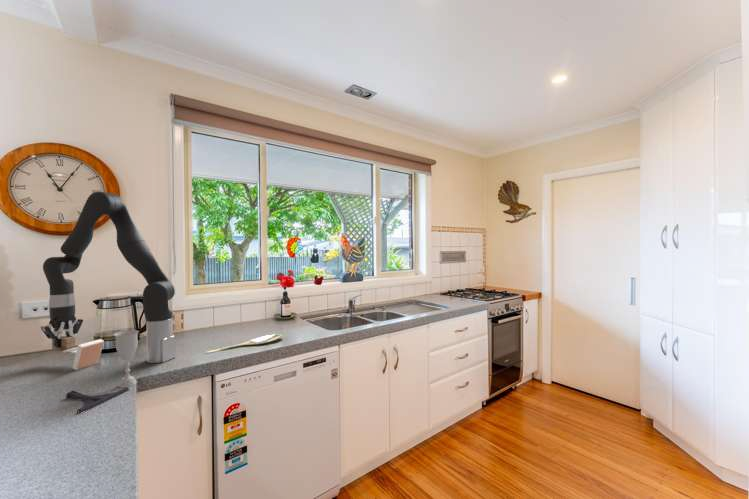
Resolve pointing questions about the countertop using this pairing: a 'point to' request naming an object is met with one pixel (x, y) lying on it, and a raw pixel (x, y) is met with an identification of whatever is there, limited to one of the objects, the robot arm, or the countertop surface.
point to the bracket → (93, 398)
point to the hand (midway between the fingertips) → (63, 346)
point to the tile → (87, 354)
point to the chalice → (127, 352)
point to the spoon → (252, 342)
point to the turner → (66, 345)
